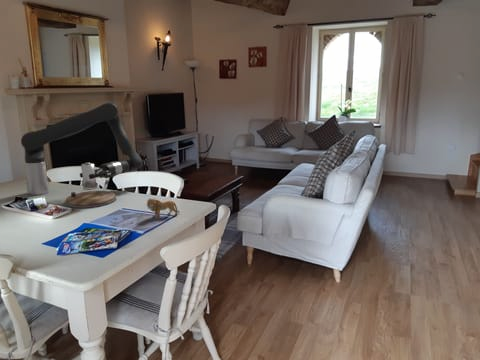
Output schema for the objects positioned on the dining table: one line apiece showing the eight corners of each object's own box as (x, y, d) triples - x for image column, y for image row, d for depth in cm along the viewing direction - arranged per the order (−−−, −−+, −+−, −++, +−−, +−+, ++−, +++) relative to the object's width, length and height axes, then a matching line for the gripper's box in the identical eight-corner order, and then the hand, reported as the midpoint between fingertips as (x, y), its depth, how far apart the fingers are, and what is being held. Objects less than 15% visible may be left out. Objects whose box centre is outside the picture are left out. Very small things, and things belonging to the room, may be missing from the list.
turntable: (56, 205, 175) (56, 199, 174) (79, 192, 198) (79, 186, 197) (103, 206, 174) (103, 199, 173) (121, 193, 196) (121, 187, 196)
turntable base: (55, 207, 175) (55, 205, 175) (79, 194, 198) (79, 192, 198) (104, 208, 174) (104, 206, 173) (123, 194, 197) (123, 193, 197)
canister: (80, 189, 181) (77, 164, 178) (87, 186, 188) (83, 161, 185) (94, 189, 181) (91, 164, 178) (100, 186, 188) (97, 161, 184)
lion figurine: (149, 220, 158) (148, 200, 156) (146, 217, 163) (144, 197, 160) (181, 215, 165) (181, 195, 163) (177, 211, 170) (176, 192, 168)
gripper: (100, 161, 197) (74, 167, 183) (120, 163, 191) (94, 170, 177) (102, 175, 199) (75, 182, 185) (121, 177, 193) (96, 185, 178)
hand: (85, 176), depth 181 cm, fingers closed on canister, 6 cm apart
